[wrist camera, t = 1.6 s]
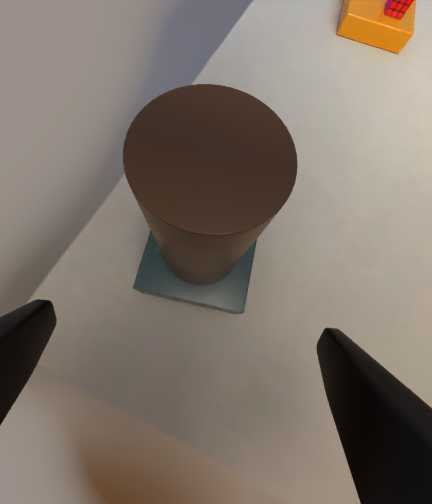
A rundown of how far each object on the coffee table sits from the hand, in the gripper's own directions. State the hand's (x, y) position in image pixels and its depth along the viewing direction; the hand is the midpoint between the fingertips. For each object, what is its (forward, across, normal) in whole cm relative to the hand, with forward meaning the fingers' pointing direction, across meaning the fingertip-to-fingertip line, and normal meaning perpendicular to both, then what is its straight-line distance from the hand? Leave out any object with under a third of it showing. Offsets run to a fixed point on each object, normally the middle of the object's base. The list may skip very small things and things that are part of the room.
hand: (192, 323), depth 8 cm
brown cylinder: (+10, 0, +3) cm, 11 cm away
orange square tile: (+36, -18, -18) cm, 44 cm away
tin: (+12, 0, +5) cm, 13 cm away
